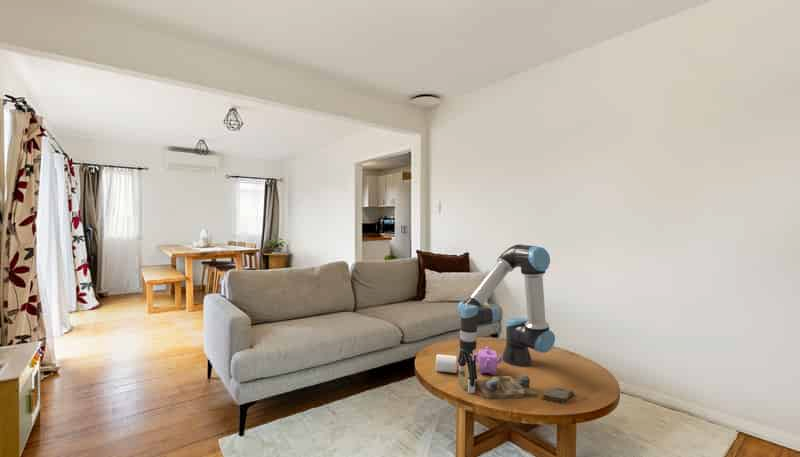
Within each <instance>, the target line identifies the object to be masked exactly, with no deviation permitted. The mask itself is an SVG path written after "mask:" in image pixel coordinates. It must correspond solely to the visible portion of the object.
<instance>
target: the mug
mask: <svg viewBox="0 0 800 457" xmlns="http://www.w3.org/2000/svg"><path fill="white" fill-rule="evenodd" d="M457 364H458V356H456V355H449V354H448V355H447V354H439V353H437V354H436V359H435V371H436V372H441V373H442V372H443V373H450V374H451V373H452V374H456V373H457V368H458V366H457Z"/></svg>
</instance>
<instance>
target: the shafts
mask: <svg viewBox="0 0 800 457" xmlns="http://www.w3.org/2000/svg"><path fill="white" fill-rule="evenodd" d="M530 378H531V377H529V376H528V375H527V376H516V379H517V382H518V383H519V384H520V385H521V386H522V387H523V388H529V387H530V388H531V386H530V385H531V384H530V382H531V381H530V380H531V379H530ZM487 380H488V381H486V389H487V390H489V391H491V392H494V391H497V385H499V384H500V379H498V378H494V379H492V378H491V379H487Z"/></svg>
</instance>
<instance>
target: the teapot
mask: <svg viewBox="0 0 800 457" xmlns="http://www.w3.org/2000/svg"><path fill="white" fill-rule="evenodd" d="M473 355H475V356H476V363H477V367H478V368H477V370H478V372H477V373H479V374H480V375H484V374H490V375H491V376H495V375H497V373H498V371H497V369H498V368H497V367H498V364H500V363H501V362H503V357H502V355H498V354H497V351H496V350H492V349H489V346H487V345H486V346H485V349H483V348H482V349H481V348H478V352H477V353H476V352H475V353H473ZM477 358H478V359H477ZM498 358H499V359H498Z"/></svg>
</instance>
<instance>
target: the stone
mask: <svg viewBox="0 0 800 457" xmlns="http://www.w3.org/2000/svg"><path fill="white" fill-rule="evenodd" d="M575 396H576V395H575V393H574V391H573V390H570V389H565V388H559V387H556V386H554V387H552V388H551V389H549V390H547V391H545V392H544V393H542V400H543V401H544V400H546V401H545V402H550V401H552V402H551V403H556V402H558V403H557V404H562V403H565V404H567V403H568V402H570V401H571V400H573V399H574V398H575ZM573 397H574V398H573ZM572 398H573V399H572ZM570 399H571V400H570ZM569 400H570V401H569ZM567 401H568V402H567Z"/></svg>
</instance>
